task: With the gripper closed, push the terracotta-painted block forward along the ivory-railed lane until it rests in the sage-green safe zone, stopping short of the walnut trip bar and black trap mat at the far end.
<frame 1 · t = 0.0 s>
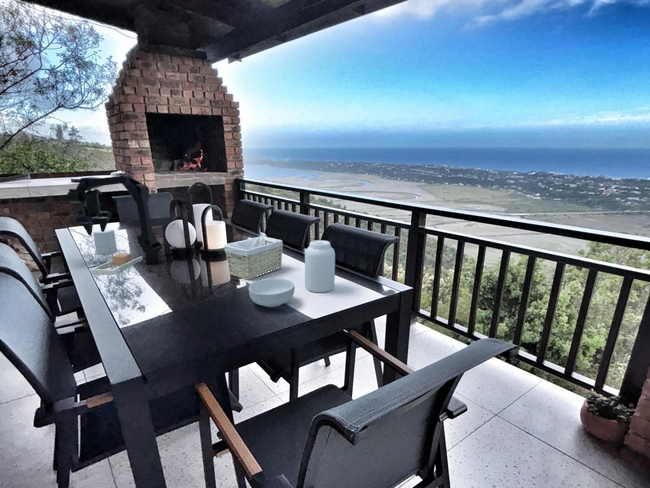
hand: (96, 233, 170), 15 cm above the table, tool pointing down, fingers open, 9 cm apart
cereal bowl: (272, 303, 126), on the table
trap lane: (119, 266, 166), on the table
supplement box: (107, 253, 189), on the table
storage basket: (255, 272, 161), on the table
white jar: (319, 288, 142), on the table
block: (123, 264, 169), resting in trap lane
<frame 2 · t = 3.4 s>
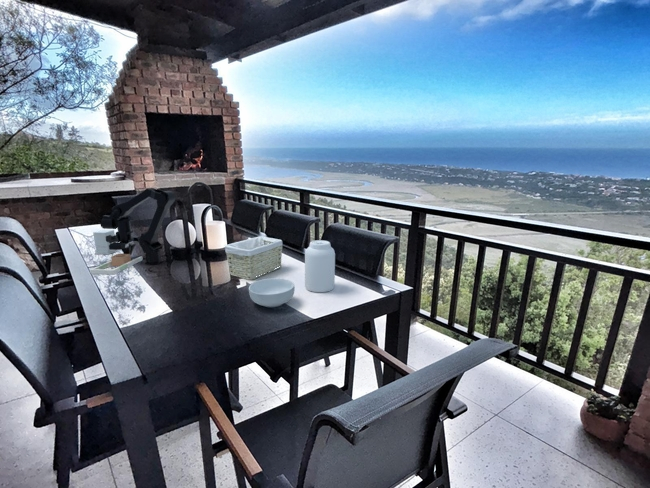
hand: (128, 258, 173), 2 cm above the table, tool pointing down, fingers closed
block: (122, 264, 169), resting in trap lane, touching gripper
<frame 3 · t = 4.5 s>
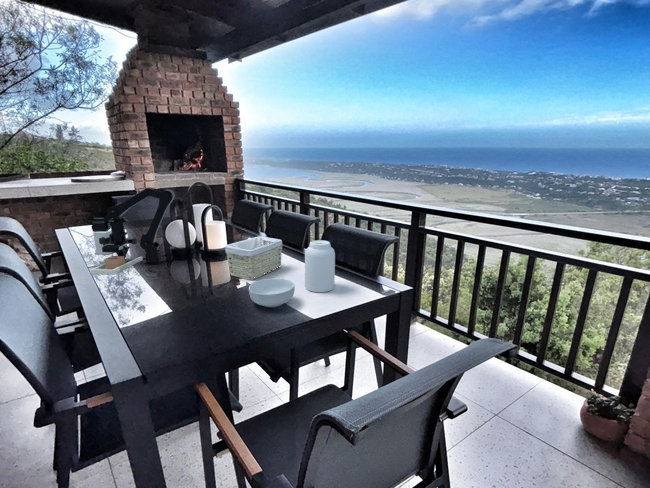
hand: (122, 261, 168), 2 cm above the table, tool pointing down, fingers closed
block: (115, 267, 164), resting in trap lane, touching gripper
everything else where it was.
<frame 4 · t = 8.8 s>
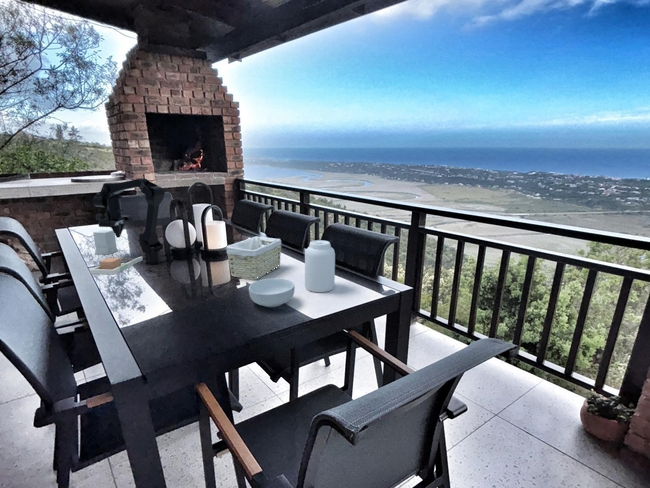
hand: (118, 237, 174), 12 cm above the table, tool pointing down, fingers closed
block: (111, 269, 161), resting in trap lane
at the end: block inside the target area (0.9 cm from its centre), resting in trap lane; block tilted 0°; block moved 8.5 cm from its start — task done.
